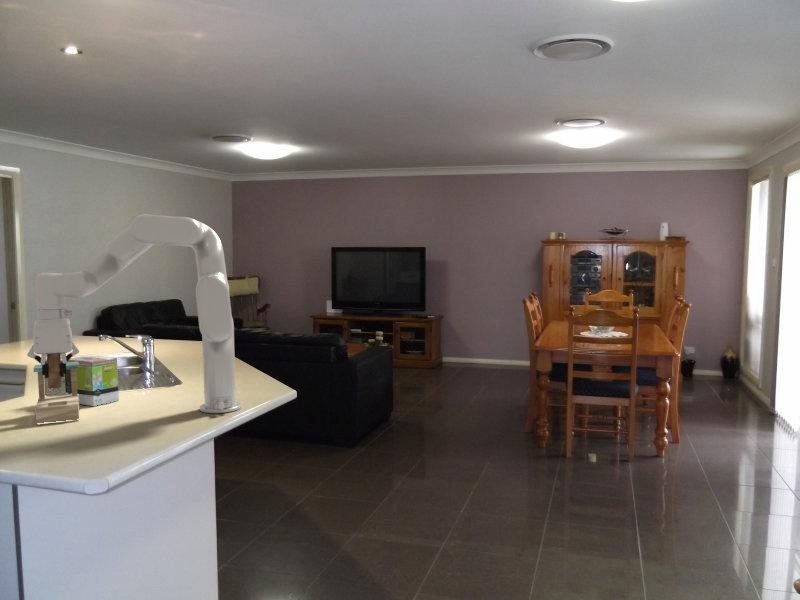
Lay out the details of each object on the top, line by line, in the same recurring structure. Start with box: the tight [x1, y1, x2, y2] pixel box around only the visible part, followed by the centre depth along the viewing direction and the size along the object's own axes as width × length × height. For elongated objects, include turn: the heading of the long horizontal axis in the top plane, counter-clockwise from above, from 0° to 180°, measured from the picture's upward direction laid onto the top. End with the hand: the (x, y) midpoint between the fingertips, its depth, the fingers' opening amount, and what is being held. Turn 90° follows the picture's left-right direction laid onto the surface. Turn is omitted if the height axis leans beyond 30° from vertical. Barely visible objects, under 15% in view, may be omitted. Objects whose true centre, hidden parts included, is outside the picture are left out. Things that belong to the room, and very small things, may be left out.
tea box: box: [64, 355, 120, 407], centre depth 220 cm, size 15×10×15 cm, turn 59°
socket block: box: [33, 362, 80, 423], centre depth 200 cm, size 16×12×15 cm
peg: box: [46, 353, 63, 390], centre depth 196 cm, size 4×4×10 cm
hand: (54, 376), depth 196 cm, fingers closed on peg, 3 cm apart
